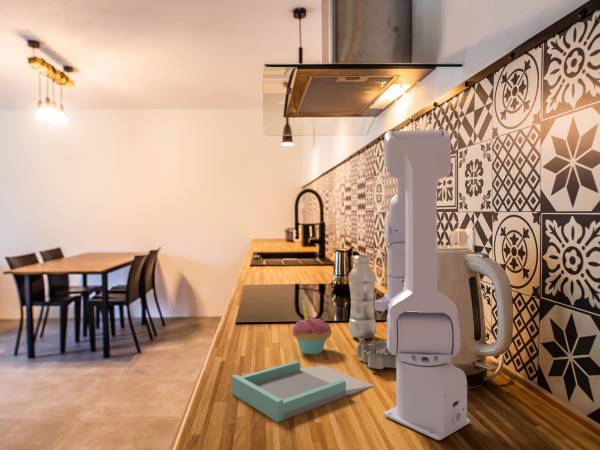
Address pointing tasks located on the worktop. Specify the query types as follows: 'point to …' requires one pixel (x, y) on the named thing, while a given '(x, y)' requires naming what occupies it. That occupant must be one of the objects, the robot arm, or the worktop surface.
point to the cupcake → (311, 333)
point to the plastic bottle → (362, 298)
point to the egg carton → (376, 354)
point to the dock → (293, 389)
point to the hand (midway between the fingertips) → (401, 340)
